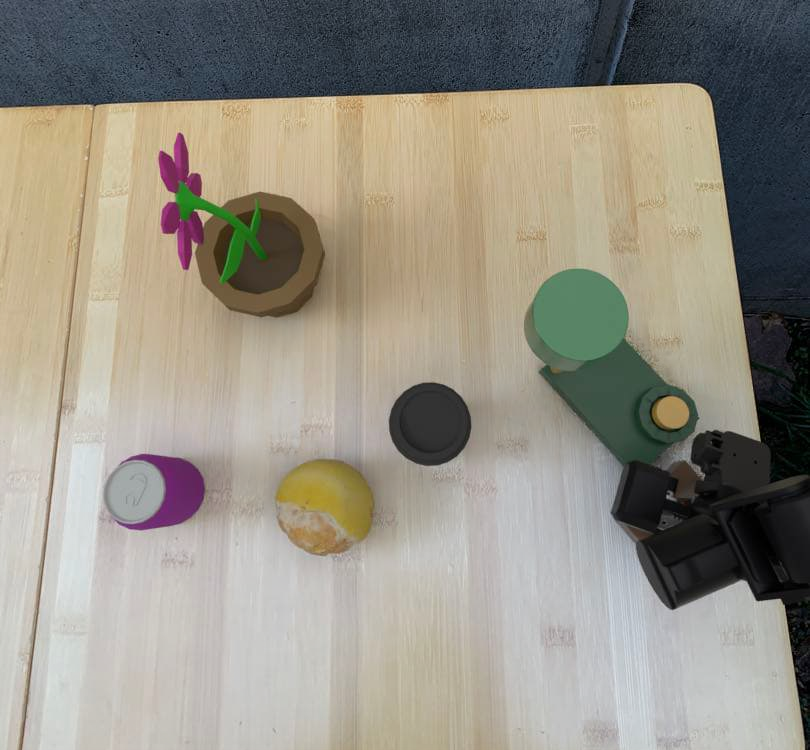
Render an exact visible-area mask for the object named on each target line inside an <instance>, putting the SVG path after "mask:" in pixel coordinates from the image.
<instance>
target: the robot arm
mask: <svg viewBox="0 0 810 750" xmlns="http://www.w3.org/2000/svg"><path fill="white" fill-rule="evenodd" d="M690 449H691V451H690V457H689V458H690V459H689V460H690V462H691V464H693V465H695V466H698V467H699V469H700V473H702V474H704V477H703V479H702V480H697V481H696V485H695V489H694V493H695V494H698V497H697V496H693V497H692V500H691V505H690V507H689V506H686V505H684V504H681V503H678V502H677V500H678V499H676V498H674V497H675V493H676V489H677V485H678V481H679V479H676V478H673V477H671V476H670V472H669V471H666V469H663V468H661V467H657V466H654V465H651V464H650V465H649V464H646V463H643V462H641V461H638V460H633V461H630V462H628V463H626V464H624V466H623V467H622V471H621V474H620V477H619V481H618V485H617V489H616V492H615V496H614V500H613V503H612V507H611V509H610V510H611V511H610V515H611V516H612V518H613V520H614V521H615V522H616V521H618V522H620V523H623V524H626V525H628V526H631V527H634V528H637V529H639V530H642V531H646V532H649V533H652V534H653V535H651V536H649V537H646V538H644V539H642V540H639V541H637V542H636V544H635V551H636V556H637V558H638V562H639V564H640V567H641V569H642V571H643V573H644V576H645V578H646V579H647V581H648V583H649V584H650V585H649V586H650V587H651V588H652V590H653V592H654V593H655V594H656V596H657V598H658V599H659V600H660V602H661V603H662V604H663V605H664V606H665V607H666V608H667V609H669V610H670V611H674V610H677V609H679V608H681V607H683V606H686V605H688V604H690V603H693V602H695V601H697V600H699V599H702V598H705V597H706V596H709V595H711V594H714V593H716V592H719V591H720V590H722V589H725V588H727V587H729V586H732V585H734V584H736V583H739V582H741V581H743V582H746V583H747V585H748V588H749V589H750V592H751V594H752V595H753V597H754V600H755V602H766V601H774V600H781V603H782V605H783V606H786V605H791V604H796V603H802V602H809V601H810V475H809V474H801V475H795V476H791V477H788V478H785V479H781V480H777V481H775V482H772V483H770V482H771V461H772V460H771V458H772V454H771V449H770V448H769V446H768V445H767V444H766V443H764V442H762V441H760V440H757V439H754V438H752V437H748V436H746V435H743V434H740V433H737V432H734V431H731V430H727V431H724V432H723V431H721V430H718V429H714V430H712V431H710V430H708V429H706V430H705V432H699V433H698V434H697V435H696V436H695V437H694V438H693V440H692V443H691V448H690ZM674 513H675V514H678V515H680V516H683V517H686V518H687V520H685V519H684V520H683V521H682V518H680V519H678V517H674Z"/></svg>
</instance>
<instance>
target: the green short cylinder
mask: <svg viewBox="0 0 810 750" xmlns="http://www.w3.org/2000/svg"><path fill="white" fill-rule="evenodd" d="M629 315H630V314H629V307H628V304H627V301H626V299H625V296H624V295H623V293H622V291H621V290H620V288H619V287H618V286H617V285H616V284H615V283H614V282H613V281H612V280H611V279H609V278H608V277H606V275H603V274H601V273H600V272H597V271H594V270H591V269H587V268H568V269H565V270H561V271H558V272H557V273H555V274H553V275H551V276H550V277H549V278H548V279H546V280H545V281H544V282H543V283H542V285H541V286H540V287H539V289H538V290H537V292H536V293H535V295H534V297H533V299H532V300H531V302H530V303H529V305H528V307H527V309H526V312H525V315H524V318H523V332H524V337H525V340H526V343H527V345H528V346H529V348H530V350H531V352H532V353H533V355H534V356H535V357H537V358H538V359H539V361H541V362H542V363H544V364H545V365H549V366H551V367H553V368H555V369H559V370H564V371H578V370H582V369H586V368H588V367H590V366H592V365H594V364H595V363H597V362H598V361H600V360H601V359H602V358H604V357H605V356H607V355H608V354H610V353H611V352H612V351H613V350H615V349H616V348H617V347H618V346H619V344H620V343H621V342H622V340H623V338H624V339H625V336H626V333H627V332H628V326H629V322H630V321H629V320H630V316H629Z"/></svg>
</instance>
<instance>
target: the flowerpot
mask: <svg viewBox="0 0 810 750" xmlns="http://www.w3.org/2000/svg"><path fill="white" fill-rule="evenodd" d="M185 139H186V138H185V136H184V134H183V133H181V132H177V134H176V138H175V142H174V145H173V157H172V156H171V155H170V154H169V153H167V152H166V151H164V150H159V152H158V157H157V159H158V167H159V173H160V178H161V181H162V182H163V184H164V186H165V189H166V190H167V192H170V193H173V194H174V200H175V201H168V202H167V203H166V204H165V205H164V207H163V208H162V209H161V217H160V227H161V231H162V234H164V235H175V234H176V240H177V241H176V242H177V243H176V244H177V256H178V258H179V261H180V265H181V268H182V270H184V271H189V269H190V265H191V261H192V259H193V258H192V257H193V243H195V244H196V248H195V251H194V255H195V259H196V264H197V268H198V269H197V270H198V273H199V277H200V281H201V284H202V285H203V286H204V287H205V288H206V289H207V290H208V291H209V292H210V293H211V294H213V296H214V297H215V298H217V300H219V302H221V304H222V305H223V306H225V307H226V308H227V309H228V310H229V311H232V312H235V313H239V314H245V315H249V316H253V317H257V318H264V317H271V318H280V317H284V316H287V315H290V314H293V313H297V312H298V311H299V310H300V309H301V308H302V307H303V306H305V304H306V303H308V301H310V300H311V298H312V297H313V296H314V291H315V287H316V286H317V285H318V282H319V279H320V275H321V271H322V268H323V264H324V260H325V257H326V251H325V249H324V245H323V242H322V238H321V235H320V231H319V228H318V225H317V222H316V219H315V218H314V217H313V216H312V215H311V214H310V213H309V212H308V211H306V210H305V209H304V208H303V207H302V206H301V205H300V204H298V202H297V201H295V200H294V199H293V198H292V197H288V196H284V195H279V194H274V193H268V192H264V191H257V192H253V193H250V194H246V195H242V196H239V197H236V198H232V199H229V200H227V201H226V202H225V203H223V205H222V206H221V207H220V206H219V205H216V204H215V203H212V202H211V201H209V200H206V199H204V198H202V194H203V193H202V191H203V181H202V177H201V174H199V173H198V172H191V173H190V160H189V157H190V156H189V149H188V147H187V143H186V140H185ZM196 210H198V211H205V212H206V213H208V214H211V216H210V217H209V218H208V219H207V220H205V222H204V224H203V221H202V219H201V217H200V215H199V213H198V211H196Z"/></svg>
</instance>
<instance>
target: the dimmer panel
mask: <svg viewBox="0 0 810 750" xmlns="http://www.w3.org/2000/svg"><path fill="white" fill-rule="evenodd" d="M665 470H666V471H669V472H670V476H671V477H673V478H676V479H679V481H678V485H677V489H676V493H675V497H674V498H692V497H693V496H697V497H698V494H695V493H694V489H695V485H696V481H697V480H703V478H702V477H701V476H700V475H699V474H698V473H697V472H696V470H694V468H693V467H691V465H690V464H688V462H687V461H686V460H678V461H677V460H676V461H674V462H673V463H672V464H670V465H669V467H667V468H666V469H665ZM615 522H616V523H617V524H618V526H619V527H620V528H621V529H622V531H624V532H625V534H626V535H627V536H628V537H629V538H630V539H631V540H632V542H633V543H634V544H635V545H636V542H637V541H639V540H642V539H644V538H646V537H649V536H651V535H653V534H652V533H649V532H646V531H642V530H639V529H637V528H634V527H631V526H628V525H626V524H623V523H620V522H618V521H615Z"/></svg>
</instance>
